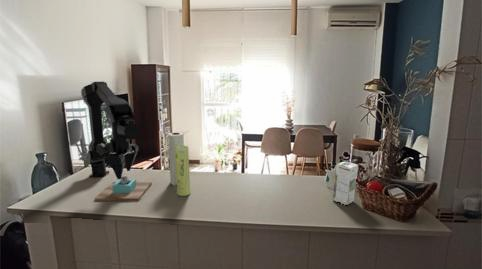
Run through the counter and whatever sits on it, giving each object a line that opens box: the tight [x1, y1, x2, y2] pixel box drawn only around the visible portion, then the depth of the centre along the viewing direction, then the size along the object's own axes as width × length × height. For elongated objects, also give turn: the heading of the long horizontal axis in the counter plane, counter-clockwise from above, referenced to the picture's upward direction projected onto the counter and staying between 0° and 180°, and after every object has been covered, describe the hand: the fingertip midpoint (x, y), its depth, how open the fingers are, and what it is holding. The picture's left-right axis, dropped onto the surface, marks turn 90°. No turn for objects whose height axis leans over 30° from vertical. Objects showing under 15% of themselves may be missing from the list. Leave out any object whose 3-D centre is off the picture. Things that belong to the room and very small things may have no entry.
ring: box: [112, 178, 137, 193], centre depth 114 cm, size 7×7×3 cm
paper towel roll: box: [168, 131, 185, 187], centre depth 123 cm, size 7×6×21 cm
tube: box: [175, 144, 191, 197], centre depth 112 cm, size 6×5×20 cm
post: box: [121, 176, 129, 185], centre depth 114 cm, size 2×2×5 cm
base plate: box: [94, 181, 153, 202], centre depth 115 cm, size 16×16×1 cm
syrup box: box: [332, 161, 359, 204], centre depth 107 cm, size 6×6×14 cm
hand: (123, 174), depth 113 cm, fingers open, 9 cm apart
